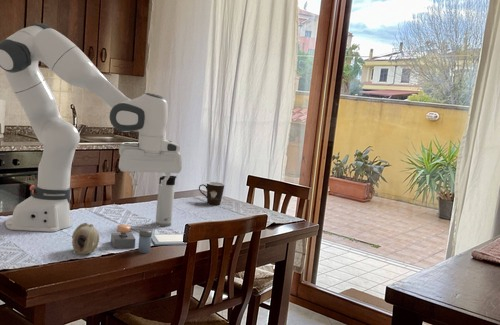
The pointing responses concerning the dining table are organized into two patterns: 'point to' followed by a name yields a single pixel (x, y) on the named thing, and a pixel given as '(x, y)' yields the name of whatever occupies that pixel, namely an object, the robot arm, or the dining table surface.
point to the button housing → (122, 240)
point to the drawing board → (167, 239)
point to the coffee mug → (213, 192)
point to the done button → (123, 229)
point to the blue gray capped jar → (144, 240)
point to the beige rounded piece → (85, 239)
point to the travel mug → (165, 202)
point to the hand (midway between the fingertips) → (149, 185)
